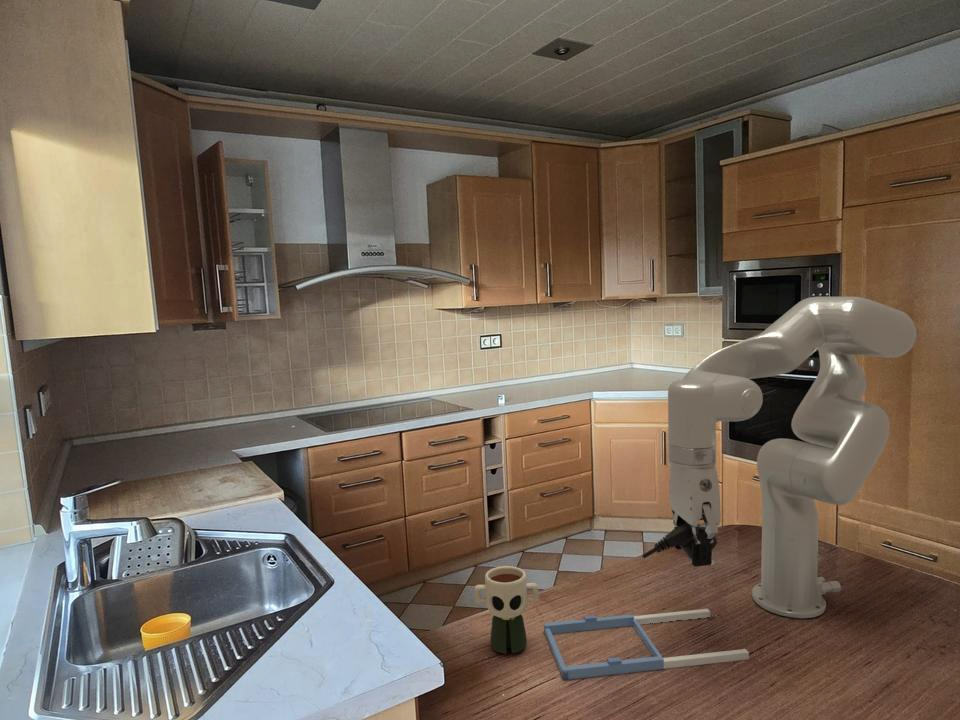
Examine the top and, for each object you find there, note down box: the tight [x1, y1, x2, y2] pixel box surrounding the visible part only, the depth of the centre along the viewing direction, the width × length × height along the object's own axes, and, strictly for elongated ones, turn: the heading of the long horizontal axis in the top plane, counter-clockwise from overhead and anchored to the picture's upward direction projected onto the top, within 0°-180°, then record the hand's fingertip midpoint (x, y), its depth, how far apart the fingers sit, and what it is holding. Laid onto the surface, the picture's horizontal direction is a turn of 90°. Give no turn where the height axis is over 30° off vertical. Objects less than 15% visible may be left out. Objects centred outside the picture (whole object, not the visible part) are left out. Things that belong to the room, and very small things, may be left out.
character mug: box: [474, 565, 539, 654], centre depth 106 cm, size 11×7×13 cm, turn 88°
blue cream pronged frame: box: [543, 608, 750, 681], centre depth 106 cm, size 31×14×2 cm, turn 97°
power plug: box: [641, 522, 718, 566], centre depth 106 cm, size 6×8×12 cm
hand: (692, 555), depth 105 cm, fingers closed on power plug, 5 cm apart
